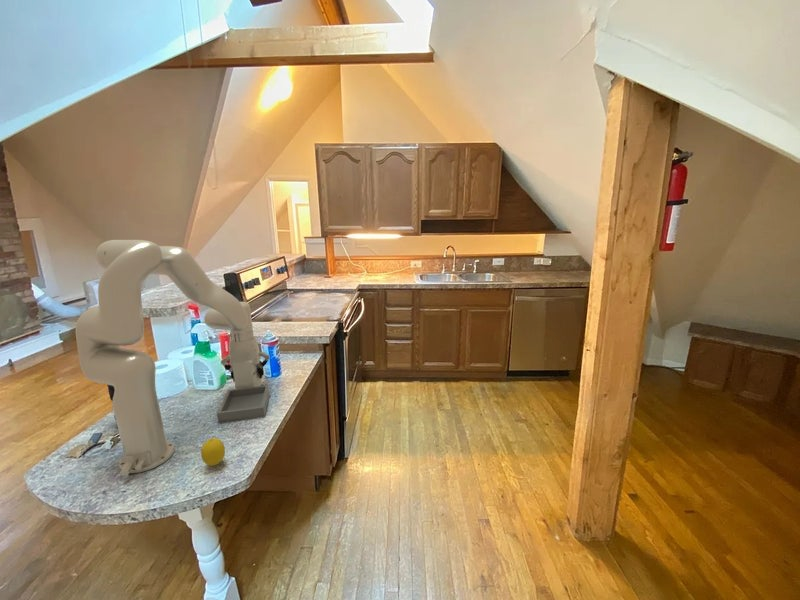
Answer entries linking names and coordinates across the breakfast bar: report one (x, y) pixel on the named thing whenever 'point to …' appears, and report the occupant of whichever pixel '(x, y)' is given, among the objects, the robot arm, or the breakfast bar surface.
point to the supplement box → (246, 374)
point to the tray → (244, 404)
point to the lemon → (213, 451)
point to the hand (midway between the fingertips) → (248, 378)
